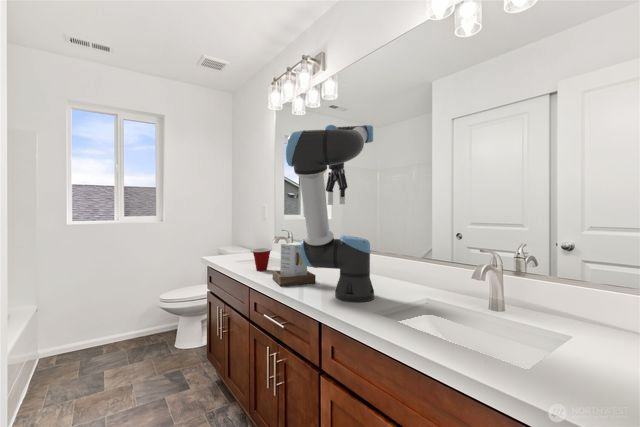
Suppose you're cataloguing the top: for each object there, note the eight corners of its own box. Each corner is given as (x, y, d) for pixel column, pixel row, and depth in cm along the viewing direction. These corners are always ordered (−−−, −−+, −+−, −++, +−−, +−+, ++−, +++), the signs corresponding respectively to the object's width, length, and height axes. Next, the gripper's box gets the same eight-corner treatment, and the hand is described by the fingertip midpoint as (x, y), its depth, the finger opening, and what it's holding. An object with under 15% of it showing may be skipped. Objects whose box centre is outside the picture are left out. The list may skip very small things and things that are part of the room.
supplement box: (294, 282, 138) (294, 245, 138) (279, 279, 144) (280, 243, 144) (307, 279, 146) (308, 243, 146) (293, 276, 151) (293, 242, 151)
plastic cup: (247, 270, 172) (248, 248, 172) (264, 267, 179) (264, 247, 179) (257, 272, 164) (258, 250, 164) (274, 270, 171) (275, 249, 171)
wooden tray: (315, 283, 140) (315, 275, 140) (280, 286, 134) (280, 277, 134) (304, 277, 154) (304, 269, 154) (272, 279, 148) (272, 271, 148)
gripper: (355, 157, 139) (354, 204, 138) (333, 165, 162) (332, 205, 162) (340, 155, 136) (339, 203, 136) (319, 164, 159) (319, 204, 159)
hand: (335, 204), depth 149 cm, fingers open, 13 cm apart
